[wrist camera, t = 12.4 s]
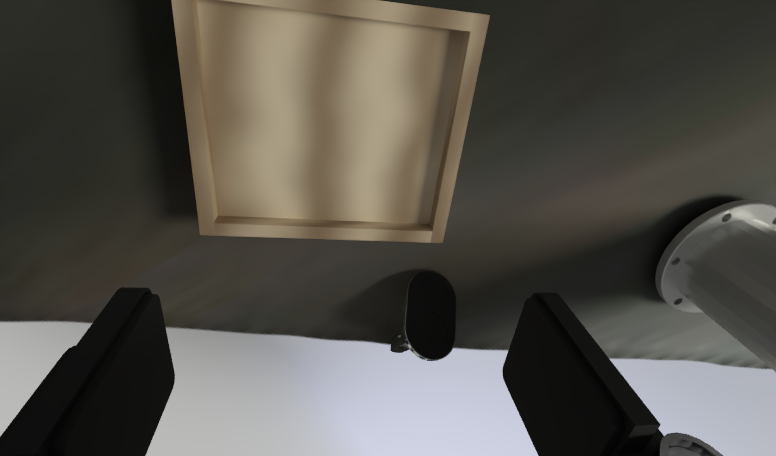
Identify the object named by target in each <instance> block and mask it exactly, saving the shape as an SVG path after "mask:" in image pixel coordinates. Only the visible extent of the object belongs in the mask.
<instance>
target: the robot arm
mask: <svg viewBox="0 0 776 456" xmlns="http://www.w3.org/2000/svg"><path fill="white" fill-rule="evenodd" d="M655 282H656V288H657V291H658V293H659V295H660V296H661V297H662V298H663V300H664V301H665V302H667V303H668V304H669V305H670V306H671V307H673V308H675V309H677V310H679V311H683V312H688V313H700V312H704V313H705V314H706V315H708V316H709V317H710V318H711V319H713V320H714V321H715V322H716V323H717V324H719V325H720V326H721V327H722V328H723V329H725V330H726V331H727V332H728V333H729V334H731V335H732V336H733V337H734V338H735V339H737V340H738V341H739V342H740V343H741V344H743V345H744V346H745V347H746V348H748V349H749V350H750V351H751V352H752V353H754V354H755V355H756V356H757V357H758V358H760V359H761V360H762V361H763V362H764V363H766V364H767V365H768V366H769V367H770V368H772V369H773V370H774V371H775V372H776V207H774V206H772V205H770V204H768V203H765V202H762V201H759V200H748V199H746V200H739V201H733V202H730V203H726V204H723V205H720V206H718V207H716V208H714V209H711V210H709V211H707V212H705V213H704V214H702V215H701V216H699V217H697V218H696V219H694V220H693V221H692V222H691V223H689V224H688V225H687V226H685V227H684V228H683V229H682V230H681V231H680V232H679V233H678V234H677V235H676V236H675V237H674V239H673V240H672V241H671V242H670V244H669V245H668V246H667V248H666V249H665V251H664V253H663V255H662V256H661V258H660V261H659V264H658V266H657V270H656V276H655ZM174 376H175V374H174V368H173V363H172V358H171V353H170V349H169V344H168V338H167V334H166V328H165V323H164V318H163V313H162V308H161V303H160V298H159V296H158V295H157V294H152V293H151V291H150V289H149V288H120V289H118V290H117V291H116V293H115V294H114V295H113V297H112V298H111V299H110V301H109V302H108V304H107V305H106V306H105V308H104V309H103V310H102V312H101V313H100V314H99V316H98V317H97V318H96V320H95V321H94V322H93V324H92V325H91V327H90V328H89V329H88V330H87V332H86V333H85V334H84V336H83V337H82V339H81V340H80V341H79V343H78V344H77V345H76V346H73V347H71V348H69V349H68V350H67V351H66V352H65V353H64V354H63V355H62V357H61V358H60V359H59V360H58V362H57V363H56V364H55V366H54V367H53V368H52V370H51V371H50V372H49V374H48V375H47V376H46V378H45V379H44V380H43V381H42V383H41V384H40V385H39V387H38V388H37V389H36V391H35V392H34V393H33V395H32V396H31V397H30V399H29V400H28V401H27V403H26V404H25V405H24V406H23V408H22V409H21V410H20V412H19V413H18V415H17V416H16V417H15V418H14V419H13V421H12V422H11V423H10V425H9V426H8V428H7V429H6V430H5V431H4V433H3V434H2V435H1V437H0V456H145V455H146V452H147V450H148V447H149V445H150V443H151V440H152V438H153V435H154V433H155V431H156V428H157V426H158V423H159V421H160V418H161V416H162V413H163V411H164V409H165V406H166V403H167V401H168V399H169V396H170V394H171V391H172V389H173V385H174V379H175V377H174ZM503 378H504V381H505V383H506V386H507V388H508V390H509V392H510V394H511V397H512V399H513V401H514V403H515V405H516V407H517V410H518V412H519V414H520V416H521V418H522V421H523V422H524V425H525V427H526V429H527V431H528V434H529V436H530V438H531V440H532V442H533V445H534V447H535V449H536V451H537V453H538V455H539V456H723V455H722V454H720V453H719V452H718V451H716V450H715V449H714V448H713V447H711V446H710V445H708V444H706V443H704V442H703V441H701V440H700V439H697V438H695V437H692V436H690V435H687V434H681V433H670V434H667V435H666V436H663V434H662V433H661V432H660V431H659V429H658V428H659V426H660V424H659V422H658V421H657V420H656V418H655V417H654V416H653V414H652V413H651V412H650V411H649V409H648V408H647V407H646V406H645V404H644V403H643V402H642V400H641V399H640V398H639V397H638V395H637V394H636V393H635V392H634V390H633V389H632V388H631V386H630V385H629V384H628V383H627V381H626V380H625V379H624V377H623V376H622V375H621V374H620V372H619V371H618V370H617V369H616V367H615V366H614V365H613V363H612V362H611V361H610V359H609V358H608V357H607V356H606V354H605V353H604V352H603V351H602V349H601V348H600V347H599V345H598V344H597V343H596V342H595V340H594V339H593V338H592V336H591V335H590V334H589V333H588V331H587V330H586V329H585V328H584V326H583V325H582V324H581V322H580V321H579V320H578V319H577V317H576V316H575V315H574V313H573V312H572V311H571V310H570V308H569V307H568V306H567V304H566V303H565V302H564V301H563V299H562V298H561V297H560V296H559V295H558V294H557V293H534V294H533V295H532V297H531V298H528V299H527V300H526V302H525V304H524V307H523V310H522V313H521V316H520V319H519V322H518V325H517V328H516V331H515V334H514V337H513V339H512V342H511V345H510V348H509V351H508V354H507V357H506V360H505V363H504V366H503Z"/></svg>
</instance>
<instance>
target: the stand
mask: <svg viewBox="0 0 776 456" xmlns="http://www.w3.org/2000/svg"><path fill="white" fill-rule="evenodd" d="M455 339H456V296H455V292H454V290H453V287H452V286H451V284H450V283H449V281H448V280H447V279H446V278H445V277H443V276H442V275H440V274H439V273H436V272H434V271H422V272H419V273H417V274H416V275H414V276H413V277H412V278H411V279H410V280H409V282H408V284H407V286H406V292H405V303H404V315H403V336H401V335H397V336H395V340H393V341H392V343H391V351H392V352H397V353H402V352H404V351H407V350H409V349H410V350H411V351H412V352H413V353H414V354H415V355H416V356H418V357H420V358H421V359H424V360H427V361H435V360H439V359H442V358H444V357H446V356H447V355H448V354H449V353H450V352H451V351H452V349H453V347H454V344H455Z"/></svg>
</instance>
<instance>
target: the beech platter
mask: <svg viewBox="0 0 776 456" xmlns="http://www.w3.org/2000/svg"><path fill="white" fill-rule="evenodd" d="M171 2H172V10H173V18H174V26H175V34H176V42H177V50H178V59H179V67H180V75H181V83H182V91H183V99H184V107H185V115H186V124H187V132H188V140H189V148H190V156H191V164H192V172H193V181H194V189H195V197H196V205H197V213H198V221H199V229H200V235H214V236H245V237H275V238H306V239H336V240H367V241H398V242H428V243H443V239H444V234H445V229H446V224H447V220H448V215H449V210H450V205H451V200H452V195H453V191H454V186H455V181H456V176H457V171H458V167H459V162H460V157H461V152H462V147H463V142H464V138H465V133H466V128H467V123H468V118H469V113H470V109H471V104H472V99H473V94H474V89H475V85H476V80H477V75H478V70H479V65H480V60H481V56H482V51H483V46H484V41H485V36H486V32H487V27H488V22H489V17H490V15H484V14H476V13H469V12H461V11H454V10H447V9H439V8H432V7H424V6H417V5H409V4H402V3H394V2H387V1H379V0H171Z"/></svg>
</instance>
